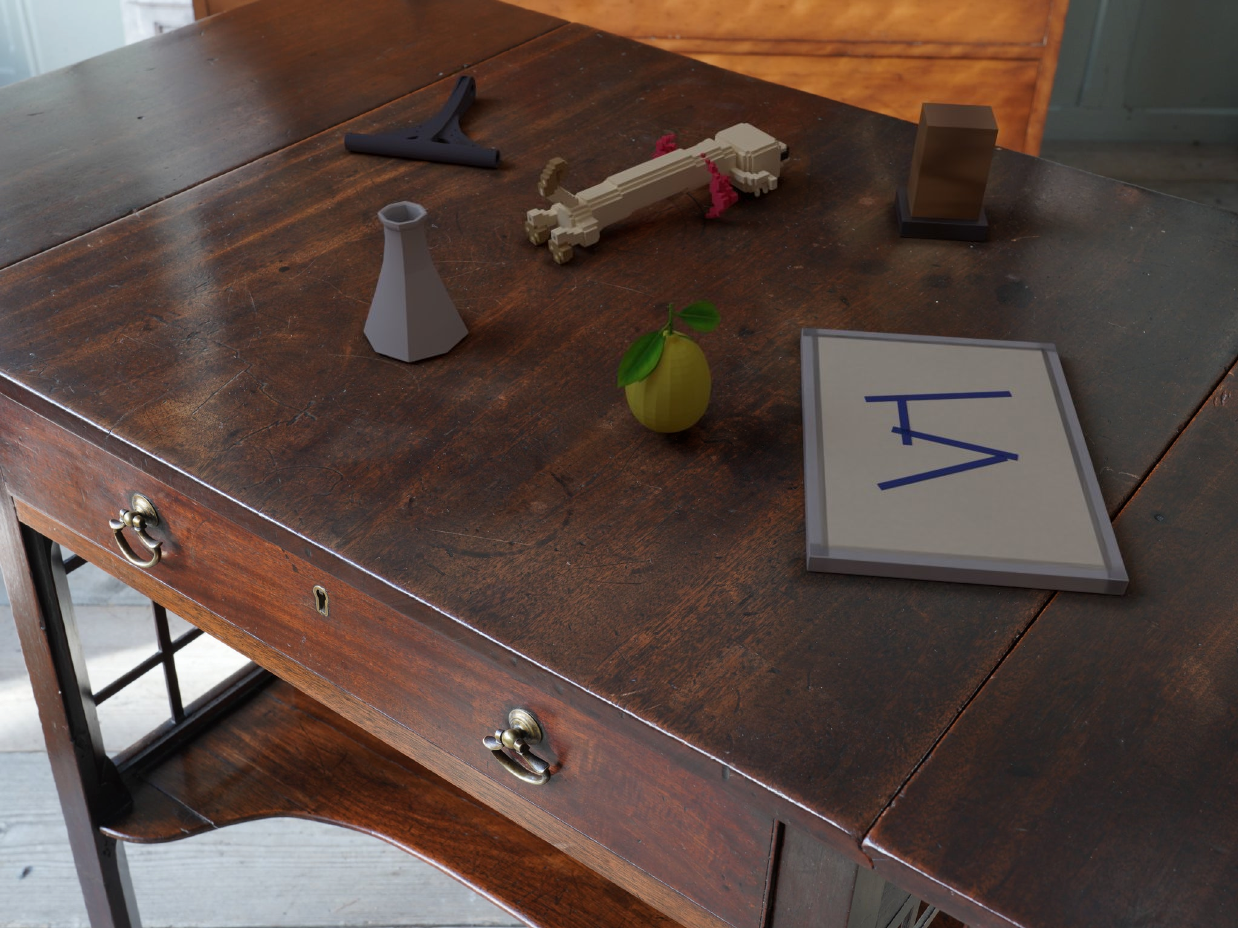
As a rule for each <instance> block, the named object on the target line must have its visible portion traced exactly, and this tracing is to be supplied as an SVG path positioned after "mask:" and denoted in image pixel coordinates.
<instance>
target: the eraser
mask: <svg viewBox="0 0 1238 928" xmlns="http://www.w3.org/2000/svg"><path fill="white" fill-rule="evenodd" d="M920 108H921V109H920V114H919V119H918V126H917V131H916V137H915V141H914V142H915V143H914V148H913V154H912V159H911V165H910V171H909V177H908V182H907V186H906V187H896V191H895V197H894V202H893V203H894V208H895V215H896V222H897V228H898V233H899V234H898V235H899V237H900V238H916V239H929V240H930V239H931V240H947V241H948V240H949V241H964V242H965V241H967V242H982V243H983V242H984V243H985V242H986V240H987V236H988V235H987V234H988V231H989V222H988V218H987V216H986V211H985V208H984V205H983V202H984V197H985V193H986V188H987V184H988V179H989V175H990V171H991V165H992V161H993V156H994V152H995V149H996V148H995V147H996V143H997V139H998V134H999V131H1000V130H999V126H998V123H997V120H996V117H995V114H994V111H993V109H992V105H981V104H980V105H979V104H978V105H977V104H960V103H959V104H957V103H942V102H941V103H939V102H938V103H937V102H922V103H921V107H920Z"/></svg>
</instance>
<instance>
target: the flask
mask: <svg viewBox="0 0 1238 928" xmlns="http://www.w3.org/2000/svg"><path fill="white" fill-rule="evenodd" d="M428 214H429V213H428V212H427V211H426V210H425V208H424V207H423V205H422V204H418V203H415V202H411V201H408V200H404V201H400V202H394V203H390V204H387V205H386V206H385V207H383V208H382V209H380V210H379V211H377V217H378V219H379V221H380V223H381V224H382V226H383V232H384V247H383V261H382V266H381V268H380V272H379V276H378V281H377V284H376V288H375V291H374V295H373V299H372V302H371V305H370V307H369V311H368V314H367V317H366V321H365V325H364V328H363V333H364V335H365V337H366V338H367V340H368V342H369V344H370V345H371V347H372V348H373V350H374V352H376V353H378V354H382V355H385V356H388V357H390V358H394V359H396V360H400V361H403V362H407V363H412V362H415V361H416V362H417V361H420V360H423V359H427V358H431V357H435V356H439V355H442V354H446V353H448V352H449V351H451V350H452V349H453V348H454V347H455V346H456V345H457V344H458V343H459V342H460V341H462V339H463V338H465V337H466V336H467V335H468V334H469V330H468V329H467V327H466V325H465V323H464V321H463V319H462V317H461V316H460V313H459V311H458V309H457V308H456V306H455V304H454V301H453V300H452V298H451V297H450V295H449V293H448V291H447V288H446V287H445V285H444V283H443V280H442V278H441V276H440V274H439V272H438V270H437V268H436V266H435V264H434V262H433V259H432V256H431V252H430V249H429V246H428V242H427V238H426V231H425V229H426V228H425V222H427V221H428V216H429V215H428Z"/></svg>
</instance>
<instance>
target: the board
mask: <svg viewBox="0 0 1238 928" xmlns="http://www.w3.org/2000/svg"><path fill="white" fill-rule="evenodd" d="M799 343H800V346H799V347H800V376H801V378H800V379H801V380H800V381H801V410H802V411H801V413H802V414H801V416H802V445H803V446H802V447H803V448H802V449H803V481H804V482H803V484H804V517H805V548H806V551H805V552H806V553H805V554H806V571H807V572H818V573H830V574H831V573H833V574H845V575H856V576H857V575H858V576H872V577H873V576H874V577H881V578H882V577H883V578H895V579H896V578H897V579H910V580H921V581H922V580H923V581H936V582H947V583H948V582H949V583H961V584H973V585H974V584H975V585H988V586H989V585H990V586H1001V587H1002V586H1003V587H1013V588H1015V587H1016V588H1025V589H1026V588H1027V589H1039V590H1040V589H1041V590H1053V591H1068V592H1079V593H1080V592H1081V593H1091V594H1103V595H1114V596H1115V595H1116V596H1124V594H1125V592H1126V589H1127V587H1128V585H1129V581H1130V579H1129V576H1128V573H1127V570H1126V566H1125V564H1124V560H1123V558H1122V554H1121V551H1120V548H1119V544H1118V542H1117V537H1116V535H1115V532H1114V528H1113V525H1112V523H1111V518H1110V516H1109V513H1108V510H1107V506H1106V502H1105V500H1104V496H1103V494H1102V491H1101V488H1100V484H1099V481H1098V478H1097V474H1096V472H1095V468H1094V464H1093V461H1092V459H1091V456H1090V453H1089V449H1088V446H1087V443H1086V440H1085V436H1084V434H1083V430H1082V427H1081V424H1080V421H1079V418H1078V414H1077V411H1076V408H1075V405H1074V402H1073V398H1072V395H1071V392H1070V389H1069V386H1068V382H1067V379H1066V376H1065V373H1064V369H1063V367H1062V363H1061V361H1060V357H1059V354H1058V350H1057V348H1056V344H1055V343H1051V342H1035V341H1017V340H1002V339H988V338H987V339H986V338H973V337H972V338H970V337H955V336H954V337H953V336H941V335H926V334H925V335H923V334H909V333H895V332H894V333H892V332H878V331H877V332H876V331H862V330H861V331H860V330H847V329H846V330H845V329H830V328H829V329H828V328H814V327H813V328H812V327H802V328H801V333H800V341H799Z"/></svg>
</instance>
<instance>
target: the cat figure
mask: <svg viewBox="0 0 1238 928" xmlns="http://www.w3.org/2000/svg"><path fill="white" fill-rule="evenodd" d="M675 139H676V135H675V134H674V133H672V134H667V135H662V136H661V139H658V140H657V141H656V142H655V153H654V154H653V155H652V158H651V159H650V160H647V161H646V162H645V161H644V162H642V163H640V164H638V165H635V166H632V167H631V168H627V169H625V170H623V171H620V172H618V173H615V174H613V175H610V176H607V177H606V179H604V180H603V181H602V182H601V183H599V184H596V185H594V186H591V187H588V188H586V189H584V190H581V191H579V192H576V193H575V195H574V194H573V193H571V192H570V191H568V190H567V189H564V188H563V187H561V186H560V185H561V181H563V180H564V181H565V180H566V179H567V175H570V166H569V162H567V161H566V160H564V159H563V158H562V157H560V156H556V157H554V158H551V159H548V164H546V165H545V168H544V169H542V173H541V174H539V177H540V181H539V182H537V189H538V194H539V195H540V196H542V197H543V198H545V199H547V200H549V201H550V202H552V203H554V204H552V205H551V206H550V209H547V210H545V209H544V208H542V209H540V210H539V209H538V208H533V209H531V210H528V211H526V217H527V220H525V221H524V229H525V230H524V231H525V233H527V234H528V235H529V241H530V242H531V243H533V245H535V246H539V245H541V244H544V243H545V242H546V240H547V242H548V251H549V252H551V253H552V254H553V255H552V256H553V260H554V261H555V262H556V263H557V264H558V265H562V264H565V263H567V262H569V261H570V260H571V259H573V258H574V254H573V246H576V245H580V246H582V247H583V248H588V247H590V246H592V245H593V244H597V243H598V242H599V240H600V237H601V234H600V232H602V230H603V229H604V228H606V227H608V226H610V225H613V224H616V223H618V222H620V221H622V220H624V219H628V218H629V217H630V216H631V215H632V214H633V212H636V211H639V210H641V209H643V208H645V207H648V206H650V205H652V204H656V203H658V202H660V201H663V200H665V199H667V198H670V197H672V196H674V195H676V194H679V193H682V194H683V195H684V194H687V193H689V192H692V191H694V190H696V189H699V188H702V187H704V186H706V185H709V193H710V194H711V203H712V204H713V205H714V206H711V207H709V213H706V214H705V218H706V219H711V220H712V219H716V217H722V216H723V212H725V211H727V210H728V209H729V208H730V206H732V205H733V204H735V203H736V202H738V201H739V194H738V193H736V192H735V191H734V187H735V188H737V189H739V190H740V191H742V192H743V193H751V194H752V193H754V196H755V197H756V198H758V197H760V196H761V190H762V193H764V194H767V193H768V192H769V190H770V191H773V190H776V189H778V178H779V177H780V175H781V168H784V167H785V164H786V163H788V162H790V157H789V155H790V146H788V145H787V144H785V143H784V142H783V141H780V140H777V139H776V138H775V137H773V136H771V135H769V134H768V133H766V132H764V131H763V130H760V129H759V128H757V127H755V126H754V125H752V124H751V123H747V122H746V123H743V122H740V123H737V124H735V125H732V126H731V127H728V128H725V129H723V130H720V131H718V132H717V133H716V134H715V136H714V139H712V138H709V137H708V138H706V139H703V141H701V142H699V143H696V145H694V146H690V147H688V148H686V149H683V148H679V147H677V143H676V142H672V143H671V141H672V140H675ZM732 186H734V187H732ZM553 226H555V228H553V229H552V230H550V235H551V239H549V229H548V228H550V227H553Z"/></svg>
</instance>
